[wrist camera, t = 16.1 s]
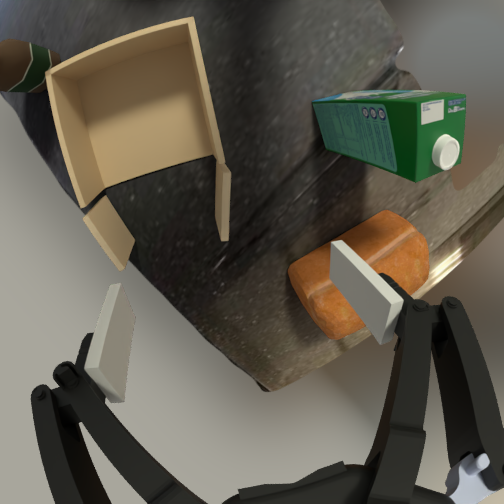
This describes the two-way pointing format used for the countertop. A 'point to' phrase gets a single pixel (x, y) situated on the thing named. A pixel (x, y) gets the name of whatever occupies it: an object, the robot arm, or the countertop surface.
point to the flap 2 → (222, 200)
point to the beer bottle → (25, 66)
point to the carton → (133, 107)
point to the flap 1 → (110, 232)
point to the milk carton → (395, 129)
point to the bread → (375, 255)
